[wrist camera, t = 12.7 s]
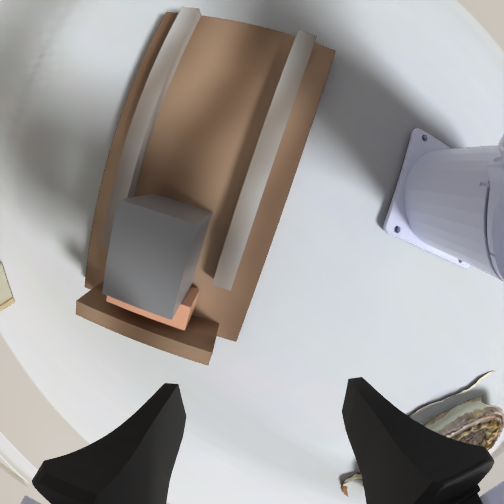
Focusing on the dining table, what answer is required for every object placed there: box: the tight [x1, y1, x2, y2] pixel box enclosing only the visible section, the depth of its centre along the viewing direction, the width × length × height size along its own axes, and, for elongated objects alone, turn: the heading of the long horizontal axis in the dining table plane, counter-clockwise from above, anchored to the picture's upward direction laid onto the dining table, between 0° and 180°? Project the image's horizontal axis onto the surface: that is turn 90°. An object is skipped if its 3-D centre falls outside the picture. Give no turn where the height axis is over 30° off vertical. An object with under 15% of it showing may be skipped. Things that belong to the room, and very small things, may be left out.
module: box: [102, 194, 213, 320], centre depth 15 cm, size 4×5×5 cm
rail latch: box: [106, 287, 200, 331], centre depth 17 cm, size 5×2×3 cm, turn 72°
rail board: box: [76, 7, 335, 365], centre depth 15 cm, size 12×21×5 cm, turn 162°
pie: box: [342, 371, 504, 496], centre depth 24 cm, size 28×27×5 cm
